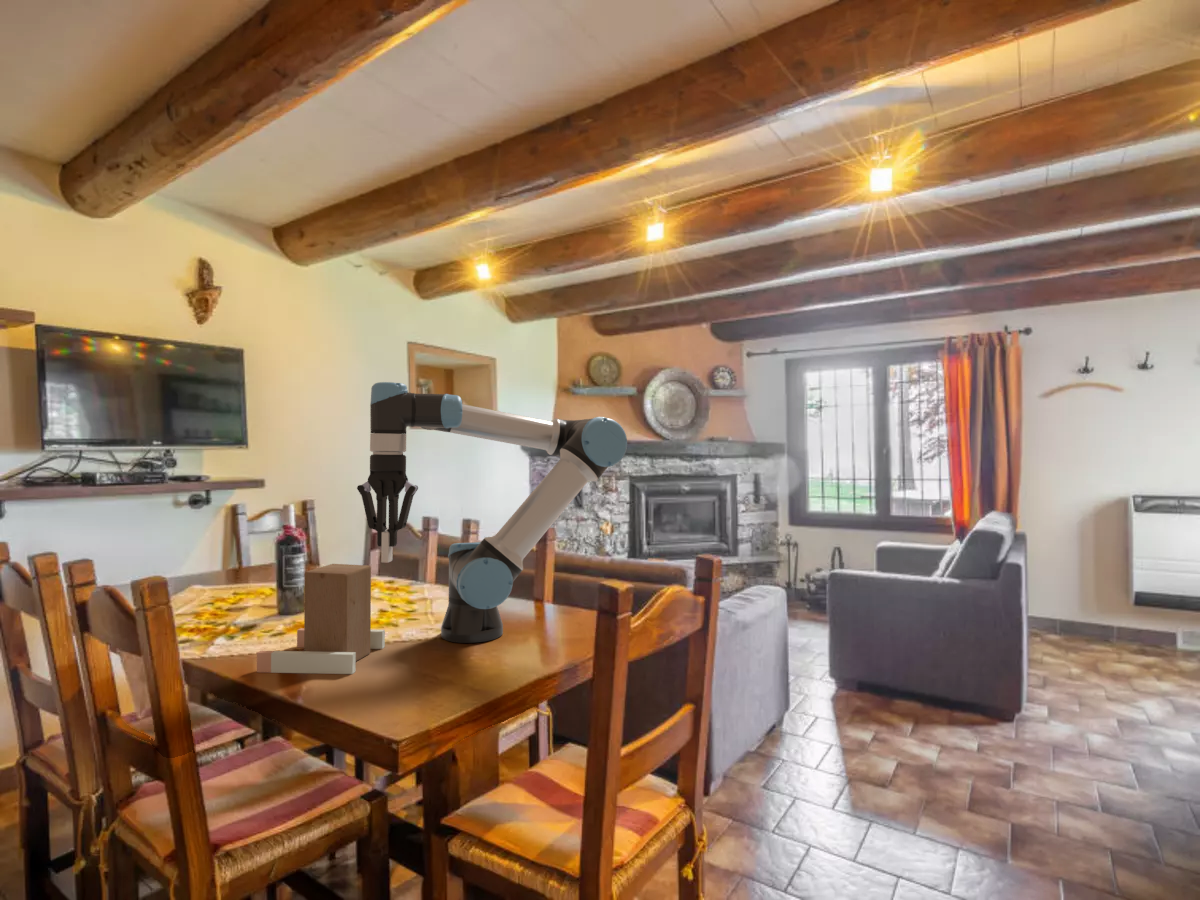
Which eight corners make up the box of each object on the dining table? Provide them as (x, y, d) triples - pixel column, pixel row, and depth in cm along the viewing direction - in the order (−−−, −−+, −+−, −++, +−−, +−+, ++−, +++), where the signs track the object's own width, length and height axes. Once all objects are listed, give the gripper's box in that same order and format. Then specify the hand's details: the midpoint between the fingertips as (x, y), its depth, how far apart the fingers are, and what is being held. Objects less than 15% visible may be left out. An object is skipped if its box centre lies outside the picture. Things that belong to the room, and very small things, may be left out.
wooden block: (345, 668, 135) (345, 573, 135) (303, 665, 137) (303, 571, 137) (371, 653, 145) (371, 565, 145) (331, 650, 147) (332, 563, 147)
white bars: (384, 646, 150) (384, 629, 150) (352, 674, 132) (352, 654, 132) (300, 645, 150) (300, 628, 150) (256, 672, 132) (256, 652, 132)
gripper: (423, 453, 144) (421, 558, 144) (365, 453, 144) (364, 557, 144) (412, 454, 136) (410, 565, 136) (351, 453, 137) (350, 563, 137)
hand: (386, 561), depth 140 cm, fingers closed
